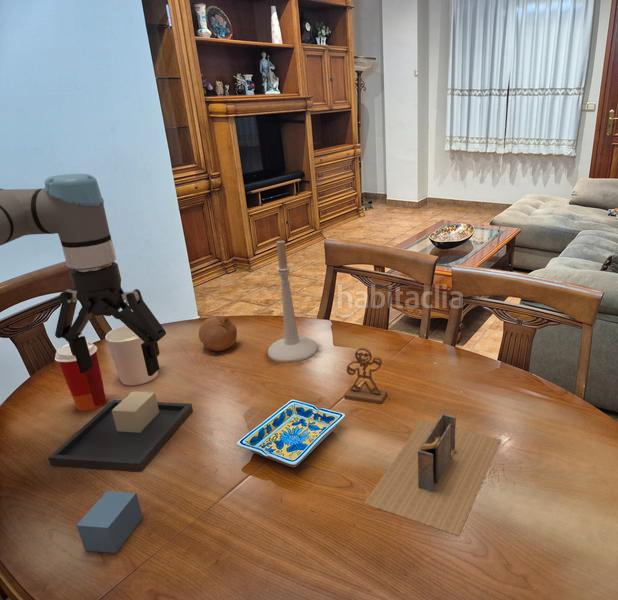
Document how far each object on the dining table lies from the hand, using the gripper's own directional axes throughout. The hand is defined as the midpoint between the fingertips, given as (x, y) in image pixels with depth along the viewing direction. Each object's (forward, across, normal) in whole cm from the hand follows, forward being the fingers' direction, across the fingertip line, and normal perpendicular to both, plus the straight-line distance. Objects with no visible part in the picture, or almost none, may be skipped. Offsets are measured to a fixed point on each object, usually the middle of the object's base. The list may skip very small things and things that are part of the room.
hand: (120, 371), depth 98 cm
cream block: (+14, +1, -3) cm, 14 cm away
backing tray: (+14, +1, +1) cm, 14 cm away
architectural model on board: (+14, -61, +6) cm, 63 cm away
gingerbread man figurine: (+14, -44, -16) cm, 49 cm away
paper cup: (+14, +16, -9) cm, 23 cm away
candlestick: (+14, -22, -36) cm, 45 cm away
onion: (+14, -2, -37) cm, 39 cm away
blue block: (+14, -12, +24) cm, 31 cm away
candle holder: (+14, +12, -21) cm, 28 cm away
